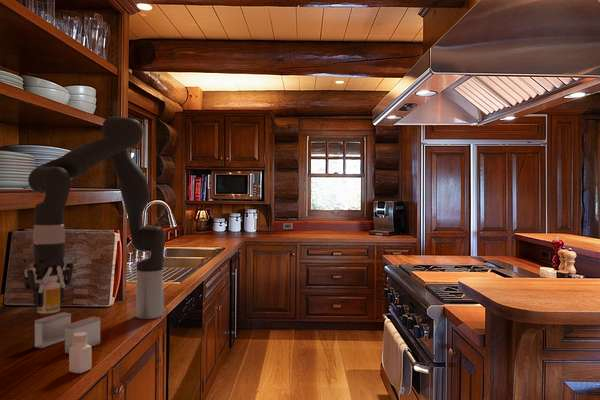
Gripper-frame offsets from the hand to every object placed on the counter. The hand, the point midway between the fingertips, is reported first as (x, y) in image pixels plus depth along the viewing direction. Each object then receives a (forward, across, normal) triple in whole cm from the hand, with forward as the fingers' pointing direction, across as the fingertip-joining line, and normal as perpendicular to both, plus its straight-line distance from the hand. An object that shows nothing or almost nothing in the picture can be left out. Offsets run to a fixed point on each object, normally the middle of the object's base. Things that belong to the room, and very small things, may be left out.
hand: (48, 303), depth 122 cm
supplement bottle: (+2, 0, 0) cm, 2 cm away
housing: (+16, -12, -7) cm, 21 cm away
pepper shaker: (+16, +1, +12) cm, 20 cm away
